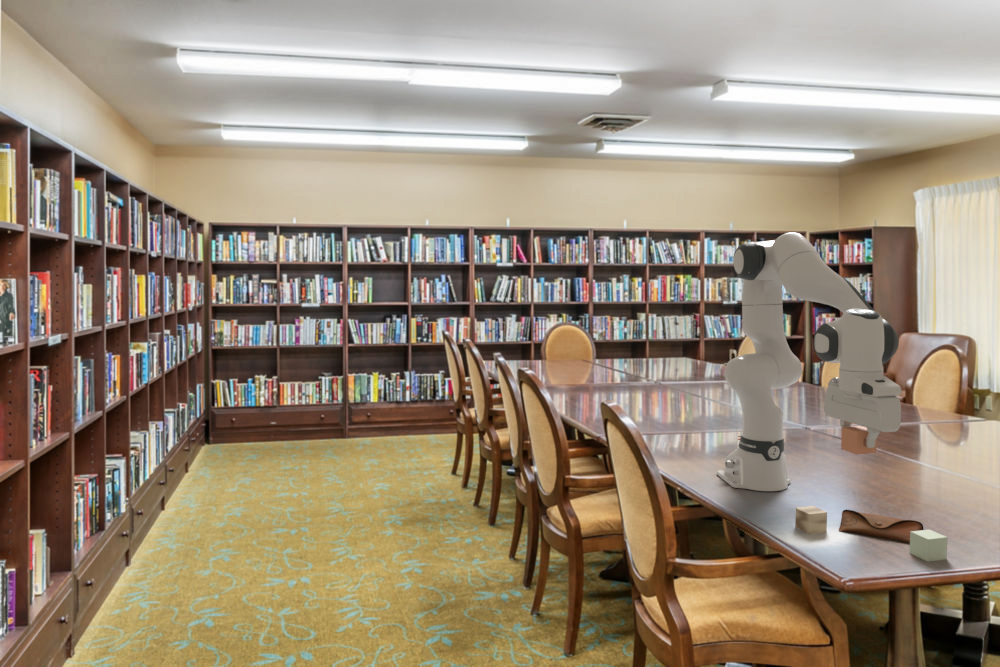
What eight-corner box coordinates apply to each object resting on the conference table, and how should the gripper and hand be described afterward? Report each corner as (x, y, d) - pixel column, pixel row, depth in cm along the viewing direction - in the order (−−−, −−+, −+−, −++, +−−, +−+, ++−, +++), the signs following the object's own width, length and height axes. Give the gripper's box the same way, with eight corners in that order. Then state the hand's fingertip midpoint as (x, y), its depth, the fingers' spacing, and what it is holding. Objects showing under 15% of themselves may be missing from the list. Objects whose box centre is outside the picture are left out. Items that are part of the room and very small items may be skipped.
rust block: (841, 449, 167) (841, 427, 167) (860, 447, 169) (860, 426, 168) (856, 454, 163) (857, 432, 162) (876, 452, 164) (876, 430, 163)
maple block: (795, 527, 181) (795, 507, 181) (812, 525, 183) (813, 505, 182) (808, 534, 177) (808, 514, 176) (826, 532, 178) (827, 512, 177)
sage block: (909, 553, 164) (910, 531, 164) (928, 551, 166) (929, 529, 165) (927, 561, 160) (928, 539, 159) (946, 559, 161) (947, 537, 160)
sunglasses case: (835, 531, 178) (838, 504, 180) (839, 537, 183) (842, 511, 186) (921, 545, 168) (923, 517, 171) (922, 552, 174) (924, 524, 176)
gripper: (817, 376, 174) (816, 434, 175) (882, 390, 154) (879, 455, 155) (840, 375, 175) (839, 433, 176) (907, 388, 155) (905, 453, 156)
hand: (858, 443), depth 165 cm, fingers closed on rust block, 5 cm apart
